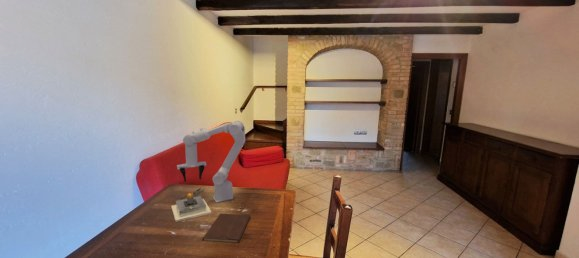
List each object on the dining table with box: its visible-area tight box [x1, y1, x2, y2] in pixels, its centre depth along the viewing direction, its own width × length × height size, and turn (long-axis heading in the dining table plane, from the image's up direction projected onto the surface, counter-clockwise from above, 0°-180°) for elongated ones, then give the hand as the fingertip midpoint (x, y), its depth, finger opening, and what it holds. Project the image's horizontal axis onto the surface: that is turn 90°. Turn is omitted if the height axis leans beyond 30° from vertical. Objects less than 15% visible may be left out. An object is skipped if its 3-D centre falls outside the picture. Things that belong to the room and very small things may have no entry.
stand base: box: [171, 198, 212, 223], centre depth 126 cm, size 16×16×1 cm
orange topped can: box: [186, 191, 195, 205], centre depth 125 cm, size 3×3×8 cm
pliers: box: [175, 187, 206, 203], centre depth 143 cm, size 10×1×20 cm
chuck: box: [175, 195, 206, 217], centre depth 125 cm, size 12×12×3 cm
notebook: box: [201, 213, 251, 244], centre depth 111 cm, size 15×20×2 cm
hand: (192, 180), depth 138 cm, fingers open, 7 cm apart
